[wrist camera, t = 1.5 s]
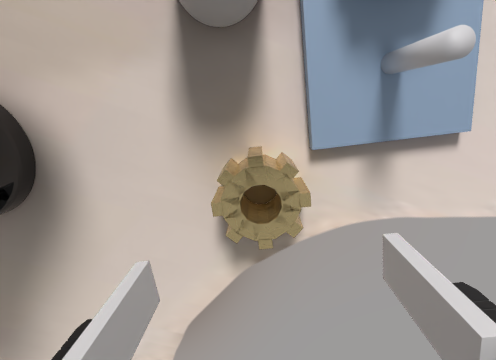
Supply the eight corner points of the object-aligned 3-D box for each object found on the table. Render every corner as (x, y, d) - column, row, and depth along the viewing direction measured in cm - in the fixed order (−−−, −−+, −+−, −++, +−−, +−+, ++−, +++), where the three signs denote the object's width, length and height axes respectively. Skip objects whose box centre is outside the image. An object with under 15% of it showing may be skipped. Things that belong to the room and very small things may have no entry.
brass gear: (225, 229, 33) (219, 253, 27) (213, 152, 30) (203, 162, 25) (304, 221, 32) (313, 244, 27) (298, 141, 30) (307, 150, 24)
